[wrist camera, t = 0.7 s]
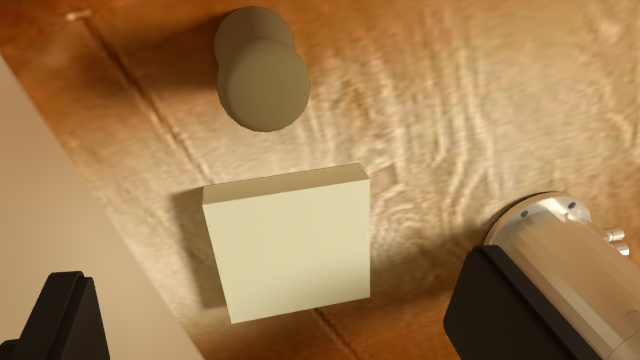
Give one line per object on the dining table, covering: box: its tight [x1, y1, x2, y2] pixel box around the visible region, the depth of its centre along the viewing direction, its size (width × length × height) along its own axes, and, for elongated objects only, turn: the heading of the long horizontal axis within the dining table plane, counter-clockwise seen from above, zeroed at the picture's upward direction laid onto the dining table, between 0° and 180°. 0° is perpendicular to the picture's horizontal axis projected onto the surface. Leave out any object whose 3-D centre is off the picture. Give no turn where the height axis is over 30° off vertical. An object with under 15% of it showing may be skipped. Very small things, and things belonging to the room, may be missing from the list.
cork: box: [214, 6, 311, 132], centre depth 26 cm, size 6×6×11 cm
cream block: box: [202, 163, 370, 324], centre depth 39 cm, size 14×14×3 cm
